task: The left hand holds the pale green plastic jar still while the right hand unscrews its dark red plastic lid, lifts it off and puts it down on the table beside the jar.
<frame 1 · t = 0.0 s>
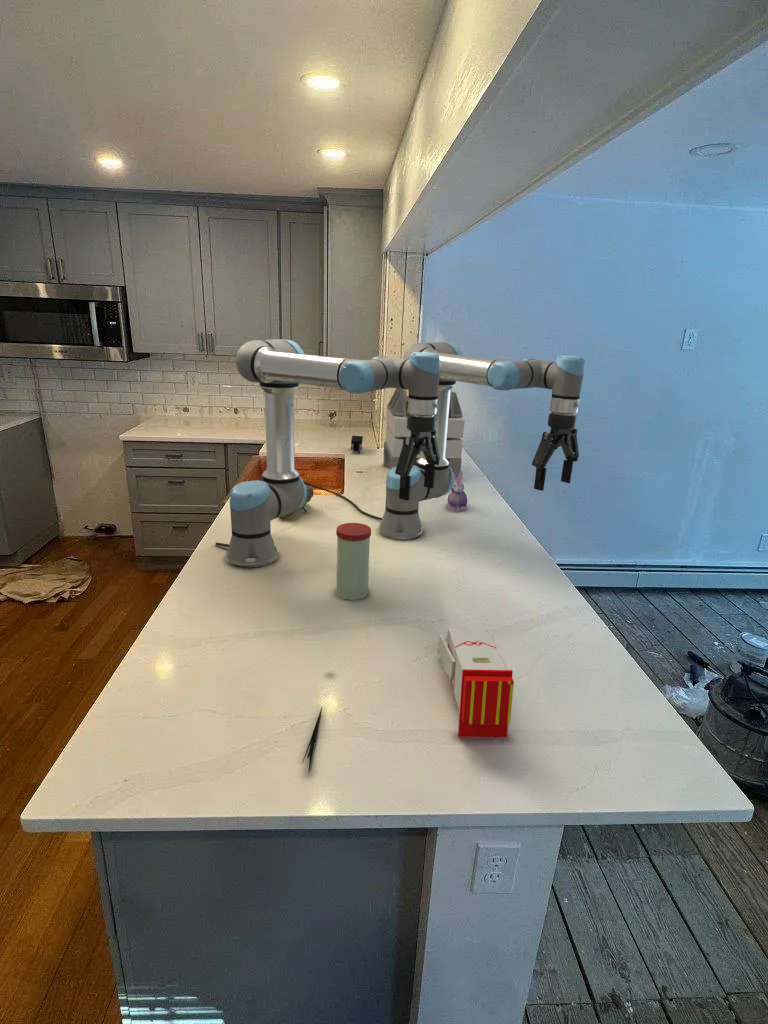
left hand: (416, 493, 153), 28 cm above the counter, tool pointing down, fingers open, 13 cm apart
right hand: (552, 485, 166), 28 cm above the counter, tool pointing down, fingers open, 13 cm apart
toy: (469, 691, 119), on the counter
grey slatted crate: (419, 473, 275), on the counter
jar: (352, 592, 158), on the counter
figurine: (456, 508, 228), on the counter
lid: (353, 530, 151), point 19 cm above the counter, screwed on, not yet turned
feather: (319, 719, 109), on the counter
figurine character: (356, 451, 311), on the counter
fossil: (296, 512, 216), on the counter
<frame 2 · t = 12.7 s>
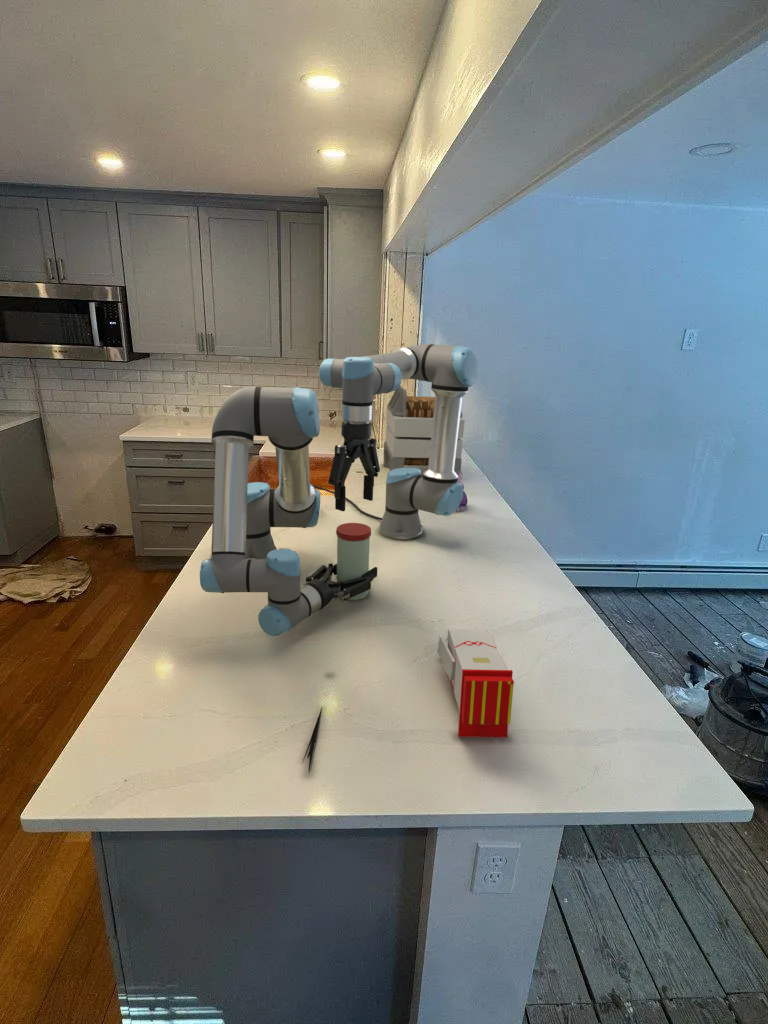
left hand: (362, 567, 159), 6 cm above the counter, tool horizontal, fingers closed on jar, 9 cm apart
right hand: (354, 504, 149), 26 cm above the counter, tool pointing down, fingers open, 11 cm apart
jar: (352, 592, 158), on the counter, touching left hand
everything else where it was.
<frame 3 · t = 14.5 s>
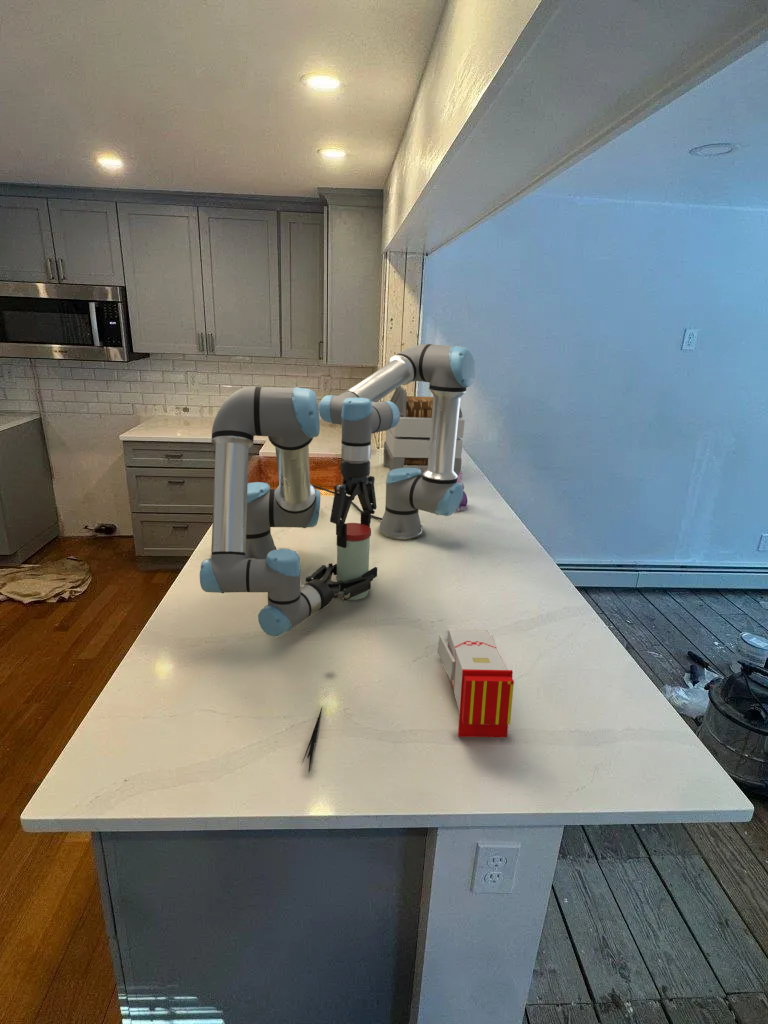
left hand: (362, 567, 159), 6 cm above the counter, tool horizontal, fingers closed on jar, 9 cm apart
right hand: (353, 540, 152), 16 cm above the counter, tool pointing down, fingers closed on lid, 9 cm apart
jar: (352, 592, 158), on the counter, touching left hand
lid: (353, 530, 151), point 19 cm above the counter, screwed on, not yet turned, touching right hand
everything else where it was.
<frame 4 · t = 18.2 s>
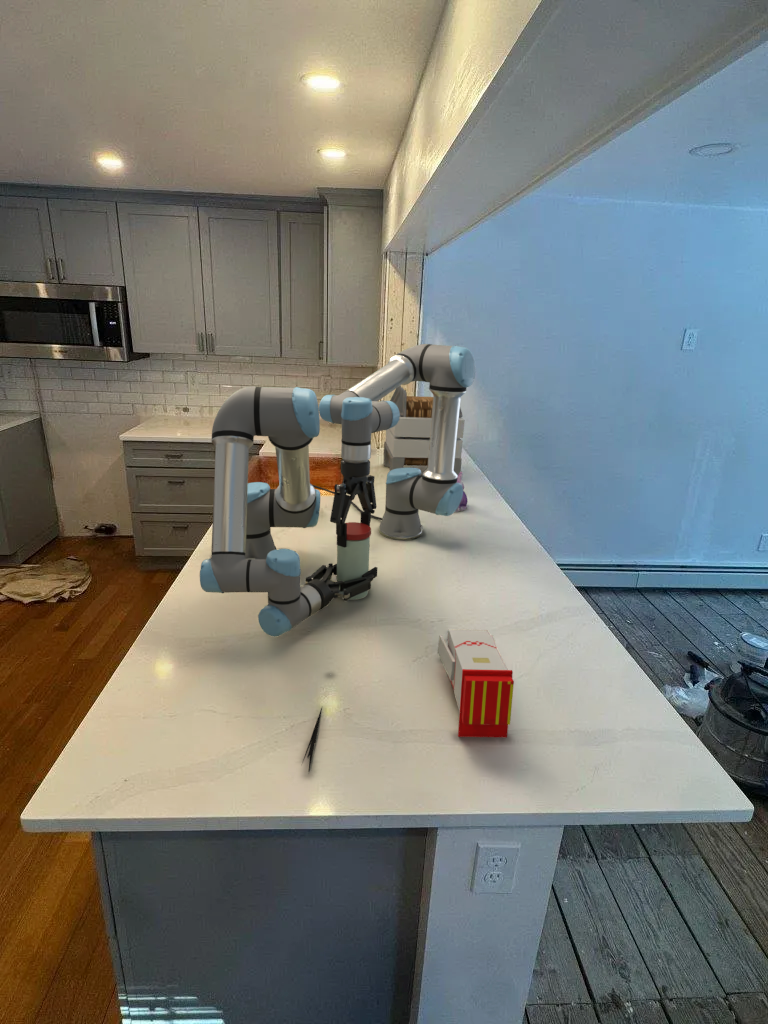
left hand: (362, 567, 159), 6 cm above the counter, tool horizontal, fingers closed on jar, 9 cm apart
right hand: (353, 540, 152), 16 cm above the counter, tool pointing down, fingers closed on lid, 9 cm apart
jar: (352, 592, 158), on the counter, touching left hand
lid: (353, 529, 151), point 19 cm above the counter, turned 126° so far, risen 0.2 cm, still on its thread, touching right hand
everything else where it was.
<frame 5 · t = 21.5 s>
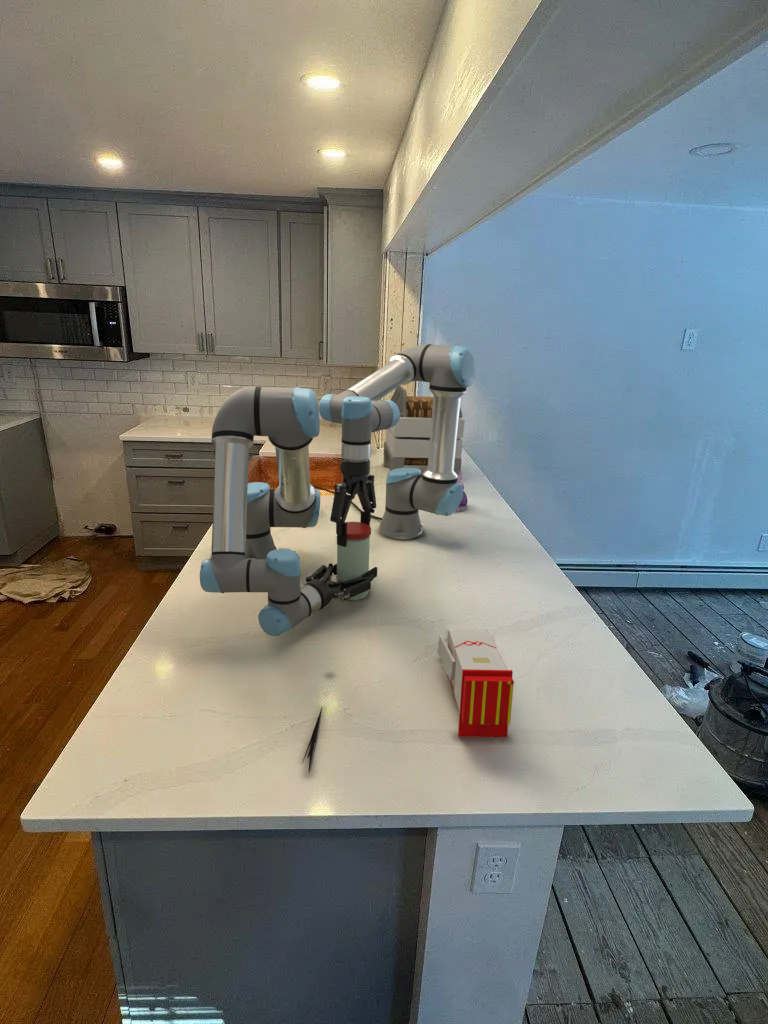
left hand: (362, 567, 159), 6 cm above the counter, tool horizontal, fingers closed on jar, 9 cm apart
right hand: (353, 539, 152), 16 cm above the counter, tool pointing down, fingers closed on lid, 9 cm apart
jar: (352, 592, 158), on the counter, touching left hand
lid: (353, 529, 151), point 19 cm above the counter, turned 252° so far, risen 0.3 cm, still on its thread, touching right hand
everything else where it was.
when the right hand's fingers open (0 cm above the counter, at t = 29.2 s): lid drops 2 cm, point 1 cm above the counter.
when the left hand's fingers open (6 cm above the counter, at t = 30.2 s): jar stays where it is, on the counter.
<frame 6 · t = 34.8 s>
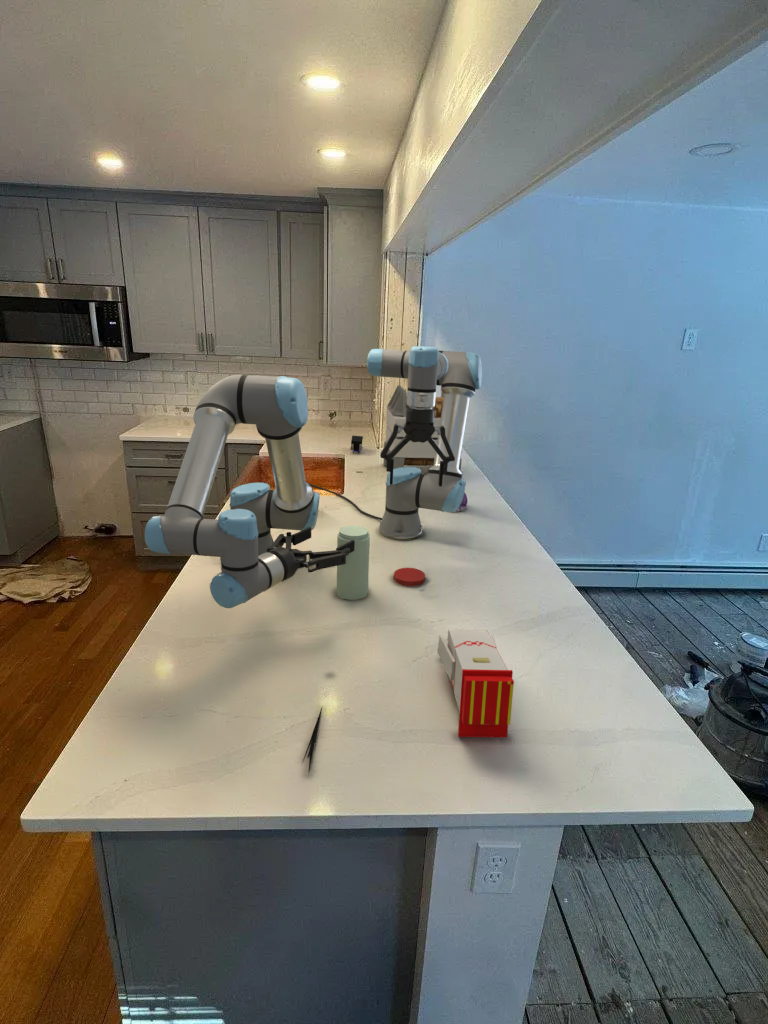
left hand: (331, 538, 143), 19 cm above the counter, tool horizontal, fingers open, 13 cm apart
right hand: (415, 484, 157), 29 cm above the counter, tool pointing down, fingers open, 13 cm apart
jar: (352, 592, 158), on the counter
lid: (409, 575, 166), point 1 cm above the counter, off its thread
everything else where it was.
at the end: lid came off its thread; lid point 1.2 cm above the counter; the left hand is holding nothing; the right hand is holding nothing; jar tilted 0°; jar moved 0.0 cm from its start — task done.
